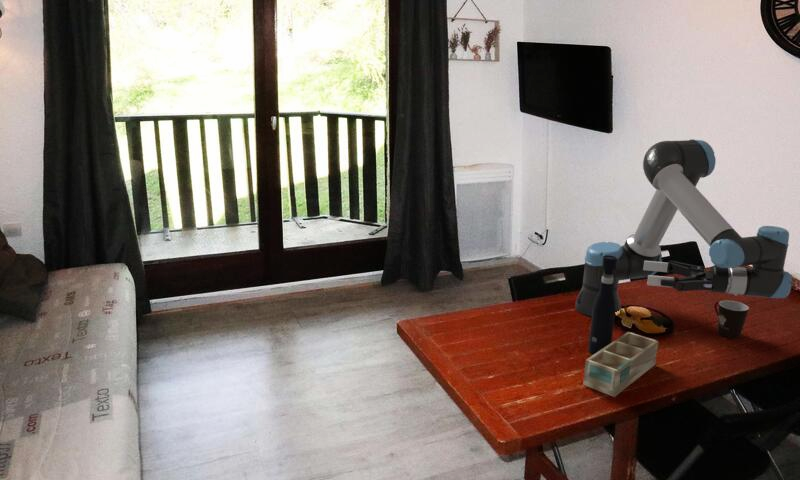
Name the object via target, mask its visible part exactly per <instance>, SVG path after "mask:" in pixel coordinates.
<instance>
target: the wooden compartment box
mask: <svg viewBox="0 0 800 480" xmlns="http://www.w3.org/2000/svg"><path fill="white" fill-rule="evenodd" d="M658 346H659V341H658V340H656V339H653V338H650V337H646V336H643V335H640V334H636V333H634V332H630V331H627V332H625V333H624V334H623V335H621V336H620V337H618V338H616V339H615V340H614V341H613V340H612V343H610V344H609V345H607V346H606V347H604V348H603V349H601V350H600V351H598V352H597V353H595V354H594V355H593V354H591V356H590V357H588V358H586V359H585V364H584V373H583V374H584V375H583V382H582V386H585V387H588V388H589V389H592V390H595V391H598V392H600V393H602V394H606V395H607V396H608V395H609V396H611V397H613V398H616V397H617V396H618V395H619V394H620V393H621V392H623V391H624V390H625V389H626V388H628V387H629V386H630V385H631V384H633V383H634V382H635V381H637V380H638V379H639V378H641V376H643V375H644V374H645V373H647V372H648V371H649V370H651V368H653V367H655V365H656V359H657V353H658V348H659V347H658Z"/></svg>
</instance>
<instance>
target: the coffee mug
mask: <svg viewBox="0 0 800 480" xmlns="http://www.w3.org/2000/svg"><path fill="white" fill-rule="evenodd" d="M717 305H718V308H717ZM749 309H750V307H749V306H748V305H746V304H745V303H743V302H739V301H737V300H736V301H735V300H721V301H716V302H715V303H714V311H715V313H716V315H717V317H718V320H717V321H718V322H717V334H718V335H719V336H721V337H723V338H727V339H732V340H736V339H739V338H740V337H741V334H742V330H743V328H744V325H745V321H746V318H747V316H748V312H749V311H750V310H749Z"/></svg>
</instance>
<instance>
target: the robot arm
mask: <svg viewBox="0 0 800 480" xmlns="http://www.w3.org/2000/svg"><path fill="white" fill-rule="evenodd" d="M716 162H717V161H716V155H715V150H714V148H713V147H712V146H711V144H709V142H707V141H705V140H702V139H693V138H692V139H686V140H661V141H659V142H656V143H654V144H653V145H651V146H650V147H649V148H648V150H647V151H646V152H645V155H644V157H643V161H642V168H643V174H644V175H645V177H646V179H647V181H648V182H649V183H650V185H651V186H652V187H653V188H654V190H655V192H654V194H653V196H652V198H651V200H650V201H649V204H648V205H647V208H646V210H645V212H644V214H643V215H642V218H641V220H640V223H639V224H638V226H637V229H636V230H635V233H634V234H632V233H631V234H630V235H628V236H627V238H626V240H625V242H624V244H623V245H620V244H619V243H617V242H611V241H608V242H607V241H600V242H596V243H593V244H591V245H589V246H588V247H587V249H586V254H585V256H584V270H583V279H582V287H581V289H580V292H579V293H578V295H577V298H576V299H575V304H574V307H575V308H574V309H575V310H576V311H577V312H579V313H580V314H582V315H585V316H587V317H591V318H592V311H593V304H594V301H595V298H596V296H597V294H598V292H599V290H600V282H601V281H602V276H603V275H604V274H603V273H604V269H603V268H602V262H603V256H606V255H610V256H615V257H616V258H617V263H616V269H615V270H613V275H612V276H613V278H614V279H613V283H614V287H613V295H614V299H615V307H616V310H615V312H617V311H619V310H620V309H621V308H622V306H621V301H620V296H619V292H618V289H619V283H620V282H619V281H625V280H634V279H644V278H647V283H646V286H654V287H662V288H673V289H675V290H676V291H677V292H690V291H710V292H712V293H717V294H724V293H726V294H729V295H730V294H731V295H733V296H735V297H737V296H738V295H742V296H752V297H760V298H761V297H762V298H767V299H785V298H787V297H788V296H789V295H790V293H791V289H792V275H791V273H790V272H789V271H785V269H784V267H785V262H786V257H787V252H788V248H789V246H790V245H789V241H790V240H789V239H790V232H789V230H787V229H786V228H784V227H780V226H774V225H762V226H760V227H759V228H758V229H757V232H756V235H754V236H746V237H742V236H741V235H740V234H739V233H738V231H736V229H734V227H732V225H731V224H730V223H729V222H728V221H727V220H726V218H724V216H723V215H722V214H721V213H720V212H719V211H718V210H717V209H716V207H714V206H713V204H712V203H711V202H709V200H708V199H707V197H705V195H704V194H702V193H701V191H700V190H699V189H698V188H697V187H696V186H698V185H697V184H698V183H699V181H700V179H702V178H706V177H709V176H710V175H711V174H712V173H713V172H714V170H715V167H716ZM678 211H679V213H681V215H682V216H683V217H684V218H685V220H687V222H688V223H689V224H690V225H691V226H692V227H693V229H694V230H695V231H696V232H697V233H698V234H699V235H700V237H701V238H702V239H703V240H704V242H706V244H707V245H708V246H709V249H708V255H709V257H710V261H711V263H712V264H713V265H712V266H711V268H710V270H705V269H706V268H705V266H702V265H701V266H700V265H694V264H691V263H685V262H679V261H676V260H669V261H667V262H663V259H662V258H663V255H662V252H661V251H662V250H661V246H660V244H661V242H662V239H663V237H664V236H665V234H666V232H667V230H668V229H669V227H670V224H671V223H672V221H673V219H674V218H675V215H676V214H677V212H678ZM745 266H746V267H745ZM747 266H752V267H750V268H749V267H747ZM658 272H661V273H666V274H670V273H673V274H677V275H679V276H683V277H678V276H663V275H661V276H660V275H655V274H656V273H658ZM620 311H621V310H620Z"/></svg>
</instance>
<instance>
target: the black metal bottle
mask: <svg viewBox="0 0 800 480" xmlns="http://www.w3.org/2000/svg"><path fill="white" fill-rule="evenodd" d="M616 263H617V258H616V257H615V256H610V255H606V256H603V262H602V268H603V269H604V273H603V274H604V275H603V276H602V281H601V282H600V290H599V292H598V294H597V296H596V298H595V301H594V304H593V311H592V317H591V322H590V329H589V330H590V331H589V340H588V346H587V348H588V350H587V351H588V352H589V354H590V355H594V354H595V353H597V352H598V351H600V350H601V349H603V348H604V347H606V346H607V345H609V344H610V343H612V342H613V333H614V326H615V310H616V307H615V299H614V295H613V287H614V283H613V279H614V278H613V276H612V275H613V270H615V269H616Z"/></svg>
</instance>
